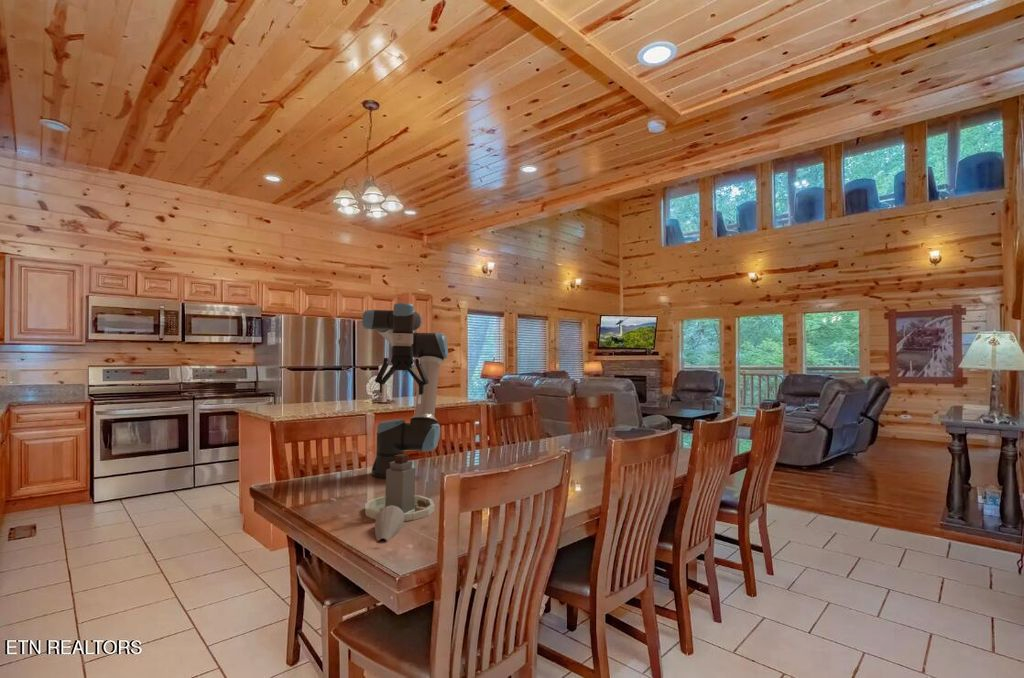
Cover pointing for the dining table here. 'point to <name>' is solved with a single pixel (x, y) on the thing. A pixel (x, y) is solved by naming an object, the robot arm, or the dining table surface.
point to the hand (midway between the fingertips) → (401, 402)
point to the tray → (379, 503)
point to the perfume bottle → (400, 484)
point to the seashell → (388, 522)
